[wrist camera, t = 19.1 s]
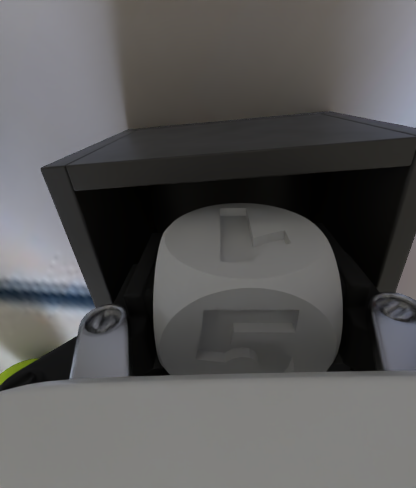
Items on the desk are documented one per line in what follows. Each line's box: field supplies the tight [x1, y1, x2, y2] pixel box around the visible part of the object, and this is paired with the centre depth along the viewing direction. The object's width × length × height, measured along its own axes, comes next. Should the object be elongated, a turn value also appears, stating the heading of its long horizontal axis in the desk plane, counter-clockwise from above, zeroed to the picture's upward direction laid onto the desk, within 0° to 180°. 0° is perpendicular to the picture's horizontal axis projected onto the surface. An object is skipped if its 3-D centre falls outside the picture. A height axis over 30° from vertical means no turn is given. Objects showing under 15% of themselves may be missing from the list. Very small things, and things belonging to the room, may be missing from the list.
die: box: [153, 203, 343, 375], centre depth 9 cm, size 5×5×5 cm
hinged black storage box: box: [41, 111, 416, 376], centre depth 15 cm, size 15×12×9 cm
